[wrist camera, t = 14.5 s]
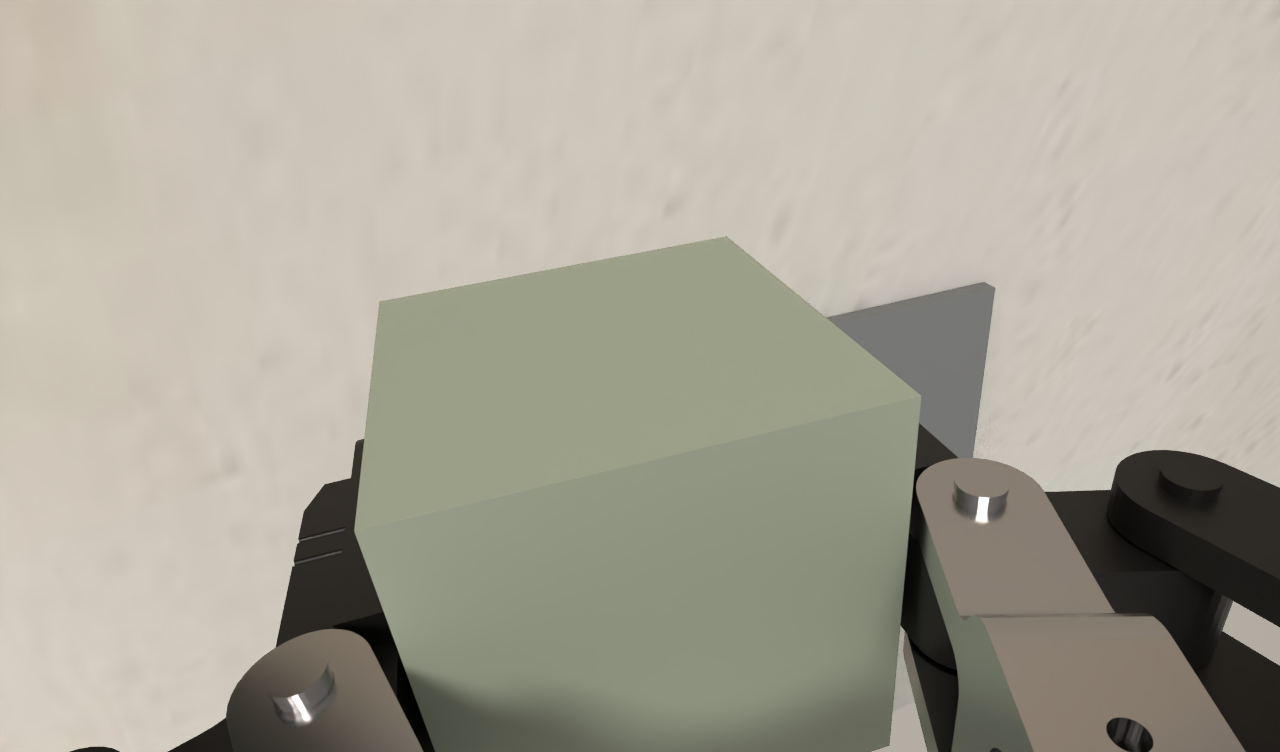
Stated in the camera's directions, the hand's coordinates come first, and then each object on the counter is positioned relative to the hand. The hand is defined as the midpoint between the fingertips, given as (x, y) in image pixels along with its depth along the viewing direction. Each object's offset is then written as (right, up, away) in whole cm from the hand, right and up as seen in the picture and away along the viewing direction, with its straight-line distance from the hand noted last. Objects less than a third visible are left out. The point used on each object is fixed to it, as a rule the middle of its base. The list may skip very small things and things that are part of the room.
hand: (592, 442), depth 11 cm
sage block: (0, 0, +1) cm, 1 cm away
